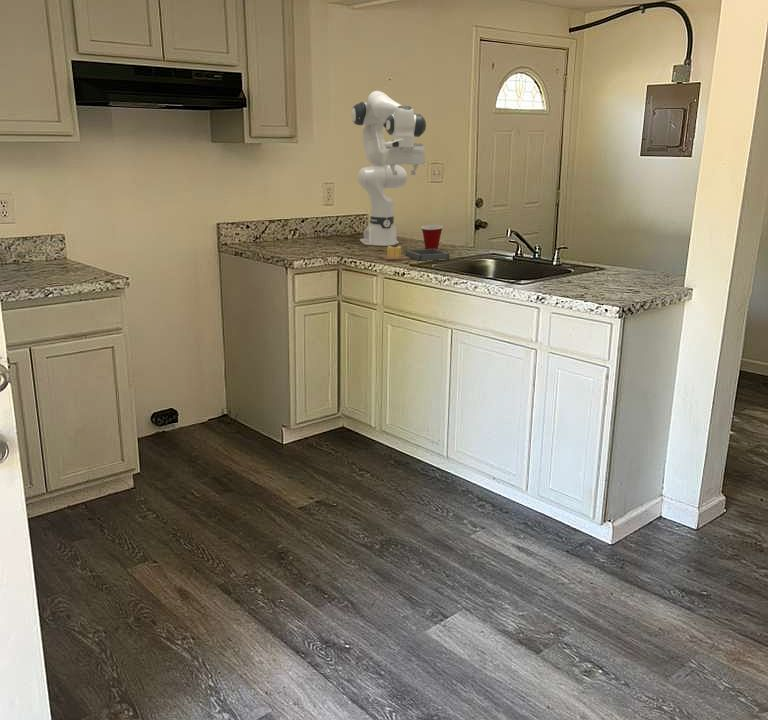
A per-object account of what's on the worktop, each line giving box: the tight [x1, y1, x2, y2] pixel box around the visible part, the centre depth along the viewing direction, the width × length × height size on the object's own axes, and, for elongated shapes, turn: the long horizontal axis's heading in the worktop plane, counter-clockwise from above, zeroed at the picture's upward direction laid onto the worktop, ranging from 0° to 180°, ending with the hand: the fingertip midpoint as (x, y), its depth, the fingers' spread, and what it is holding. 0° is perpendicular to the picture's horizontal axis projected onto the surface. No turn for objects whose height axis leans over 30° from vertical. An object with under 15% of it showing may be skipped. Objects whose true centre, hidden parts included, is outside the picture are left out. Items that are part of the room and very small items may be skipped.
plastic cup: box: [420, 224, 444, 250], centre depth 371 cm, size 11×11×12 cm
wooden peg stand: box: [377, 244, 411, 262], centre depth 349 cm, size 11×11×6 cm
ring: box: [386, 245, 402, 258], centre depth 349 cm, size 6×6×4 cm
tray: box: [405, 248, 450, 262], centre depth 352 cm, size 15×15×3 cm
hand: (403, 174), depth 348 cm, fingers open, 8 cm apart
